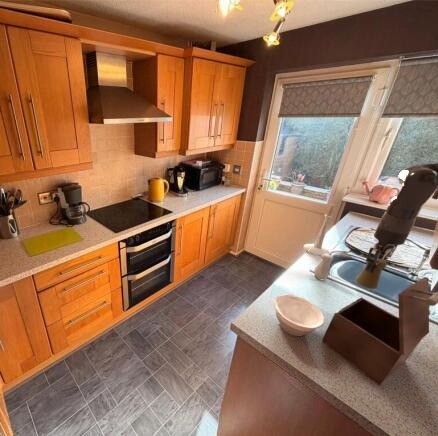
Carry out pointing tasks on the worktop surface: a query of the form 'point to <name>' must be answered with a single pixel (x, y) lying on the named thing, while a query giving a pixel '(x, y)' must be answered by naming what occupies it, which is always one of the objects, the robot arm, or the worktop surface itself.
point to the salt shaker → (323, 267)
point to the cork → (371, 275)
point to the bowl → (297, 315)
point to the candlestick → (321, 237)
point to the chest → (367, 339)
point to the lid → (414, 313)
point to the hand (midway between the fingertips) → (373, 269)
